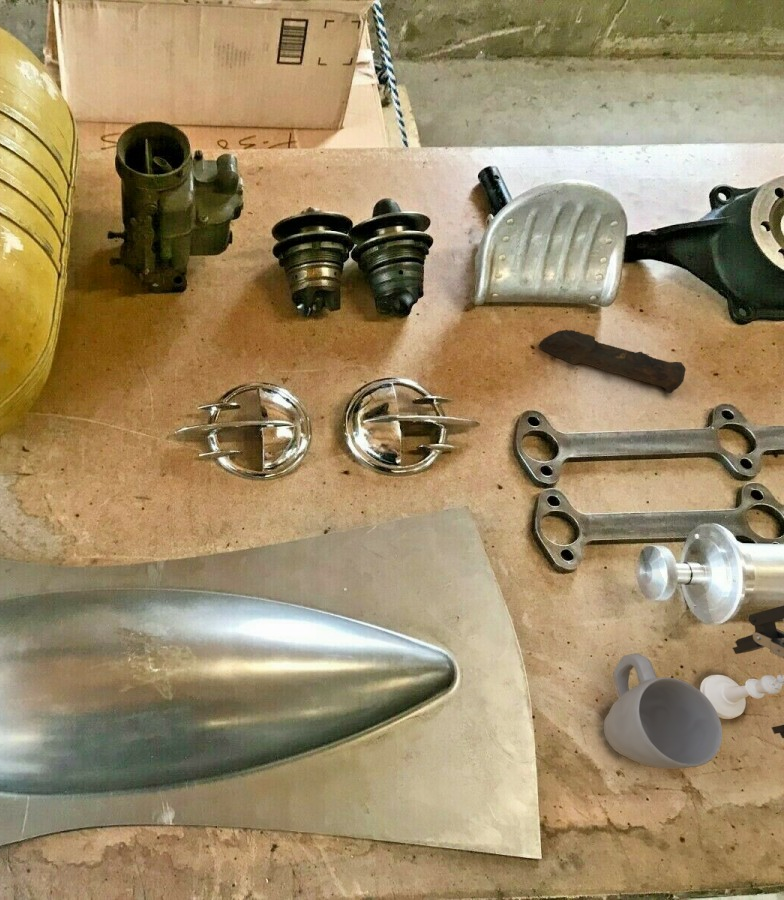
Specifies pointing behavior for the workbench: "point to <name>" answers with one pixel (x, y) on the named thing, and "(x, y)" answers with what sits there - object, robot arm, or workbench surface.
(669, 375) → the hand tool
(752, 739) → the workbench surface
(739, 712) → the chess piece
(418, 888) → the workbench surface
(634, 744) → the mug
